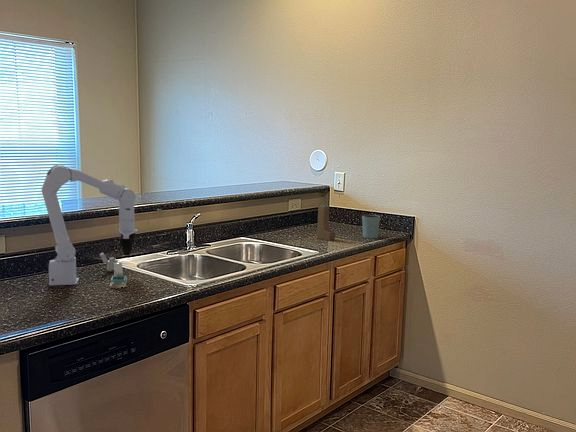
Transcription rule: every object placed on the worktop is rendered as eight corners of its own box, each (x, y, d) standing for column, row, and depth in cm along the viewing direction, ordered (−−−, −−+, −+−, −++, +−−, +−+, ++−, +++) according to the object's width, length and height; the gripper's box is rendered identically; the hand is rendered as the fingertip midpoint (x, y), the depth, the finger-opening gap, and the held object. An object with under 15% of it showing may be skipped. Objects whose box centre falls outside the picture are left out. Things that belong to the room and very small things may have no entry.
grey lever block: (116, 269, 231) (115, 250, 229) (118, 270, 229) (117, 251, 228) (99, 272, 226) (99, 252, 225) (101, 272, 225) (101, 253, 223)
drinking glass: (373, 239, 306) (374, 217, 304) (357, 236, 312) (358, 215, 310) (382, 236, 314) (383, 215, 312) (366, 234, 320) (367, 213, 318)
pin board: (109, 288, 204) (109, 281, 204) (112, 281, 213) (111, 274, 213) (125, 287, 206) (125, 281, 205) (127, 280, 215) (126, 274, 214)
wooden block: (334, 239, 302) (336, 207, 299) (329, 241, 298) (330, 207, 296) (322, 237, 308) (323, 205, 305) (316, 238, 305) (318, 205, 302)
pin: (114, 282, 208) (113, 264, 206) (114, 280, 211) (114, 262, 209) (122, 282, 208) (121, 264, 207) (123, 280, 211) (122, 262, 210)
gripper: (136, 222, 211) (137, 257, 213) (138, 215, 225) (138, 248, 227) (117, 222, 209) (118, 257, 212) (120, 216, 223) (120, 249, 226)
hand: (127, 253), depth 219 cm, fingers open, 7 cm apart
